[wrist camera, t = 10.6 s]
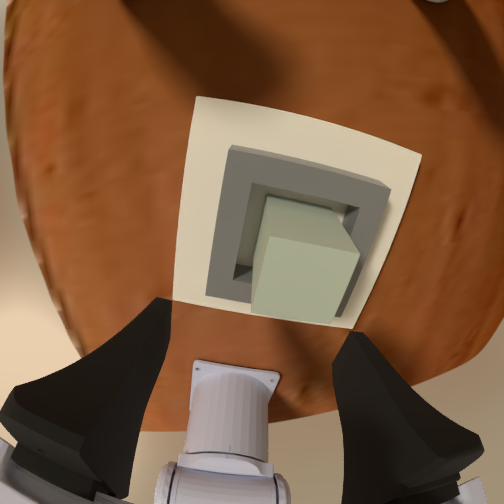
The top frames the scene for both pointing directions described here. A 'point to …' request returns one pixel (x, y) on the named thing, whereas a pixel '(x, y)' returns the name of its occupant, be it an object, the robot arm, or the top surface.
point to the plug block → (300, 261)
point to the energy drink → (437, 1)
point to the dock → (285, 185)
